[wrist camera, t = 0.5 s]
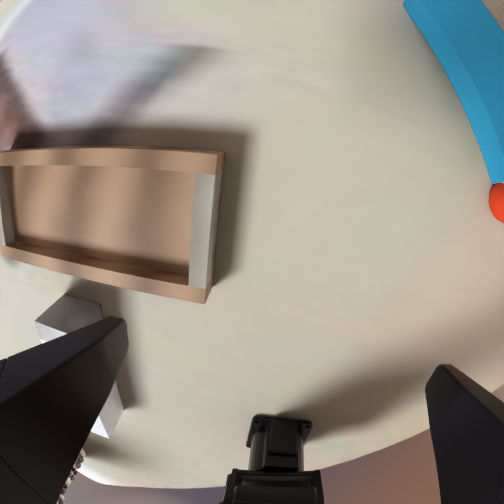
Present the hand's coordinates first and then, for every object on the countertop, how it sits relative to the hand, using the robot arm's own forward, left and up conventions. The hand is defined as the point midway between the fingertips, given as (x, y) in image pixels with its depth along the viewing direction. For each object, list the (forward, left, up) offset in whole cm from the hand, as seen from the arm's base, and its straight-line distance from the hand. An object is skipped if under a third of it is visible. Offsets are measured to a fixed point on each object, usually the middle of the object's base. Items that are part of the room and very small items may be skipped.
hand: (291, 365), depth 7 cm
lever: (+12, -14, -14) cm, 23 cm away
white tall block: (-18, +17, -14) cm, 28 cm away
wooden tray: (-1, +15, -14) cm, 20 cm away
